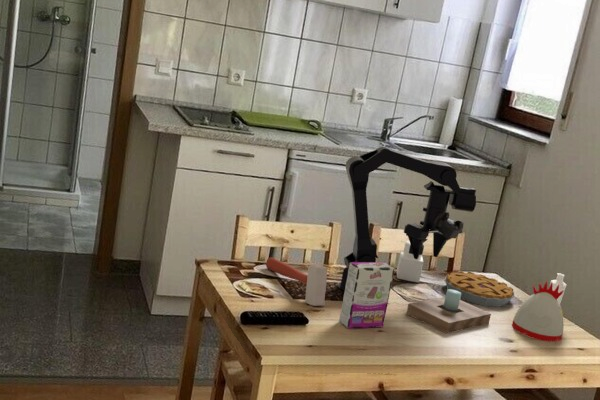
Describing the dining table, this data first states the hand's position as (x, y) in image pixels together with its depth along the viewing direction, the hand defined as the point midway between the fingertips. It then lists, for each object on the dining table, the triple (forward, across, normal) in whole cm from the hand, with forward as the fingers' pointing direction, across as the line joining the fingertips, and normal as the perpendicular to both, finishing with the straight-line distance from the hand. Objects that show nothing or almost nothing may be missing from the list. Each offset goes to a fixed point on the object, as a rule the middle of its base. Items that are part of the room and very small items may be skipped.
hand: (425, 257), depth 223 cm
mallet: (+14, -32, +20) cm, 40 cm away
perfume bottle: (+13, +30, -27) cm, 42 cm away
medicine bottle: (+13, +14, +15) cm, 24 cm away
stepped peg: (+13, -3, -14) cm, 19 cm away
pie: (+13, +26, -4) cm, 30 cm away
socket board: (+13, -3, -14) cm, 19 cm away
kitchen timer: (+13, +18, -30) cm, 37 cm away
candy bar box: (+13, -33, -8) cm, 36 cm away
